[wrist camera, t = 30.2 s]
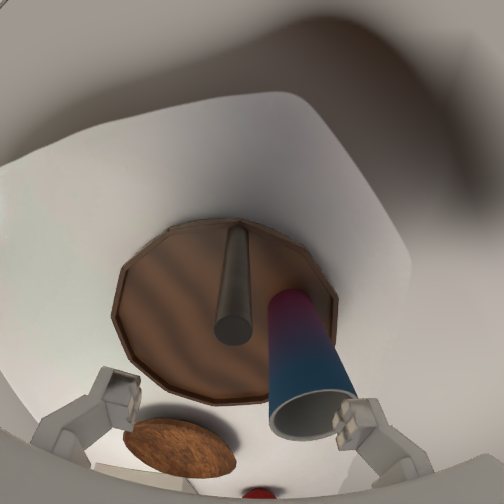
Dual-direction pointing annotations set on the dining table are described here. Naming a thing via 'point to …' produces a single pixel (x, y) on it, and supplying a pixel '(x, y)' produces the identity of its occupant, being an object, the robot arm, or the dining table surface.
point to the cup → (302, 370)
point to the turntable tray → (213, 307)
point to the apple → (259, 494)
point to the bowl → (180, 448)
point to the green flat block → (148, 478)
